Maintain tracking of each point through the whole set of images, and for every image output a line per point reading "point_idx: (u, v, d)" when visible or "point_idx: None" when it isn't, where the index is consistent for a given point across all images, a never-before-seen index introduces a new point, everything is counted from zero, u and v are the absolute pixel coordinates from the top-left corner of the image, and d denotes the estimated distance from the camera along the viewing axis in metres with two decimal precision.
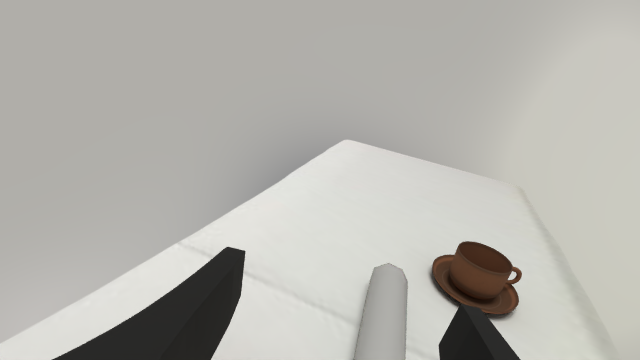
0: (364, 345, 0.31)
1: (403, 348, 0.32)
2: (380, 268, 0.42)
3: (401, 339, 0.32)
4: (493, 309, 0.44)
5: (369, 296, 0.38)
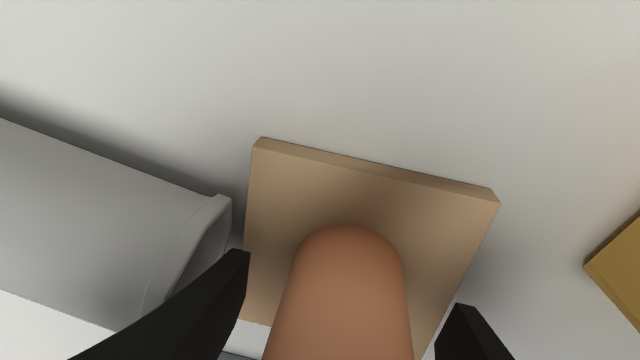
0: None
1: None
2: None
3: None
4: None
5: None
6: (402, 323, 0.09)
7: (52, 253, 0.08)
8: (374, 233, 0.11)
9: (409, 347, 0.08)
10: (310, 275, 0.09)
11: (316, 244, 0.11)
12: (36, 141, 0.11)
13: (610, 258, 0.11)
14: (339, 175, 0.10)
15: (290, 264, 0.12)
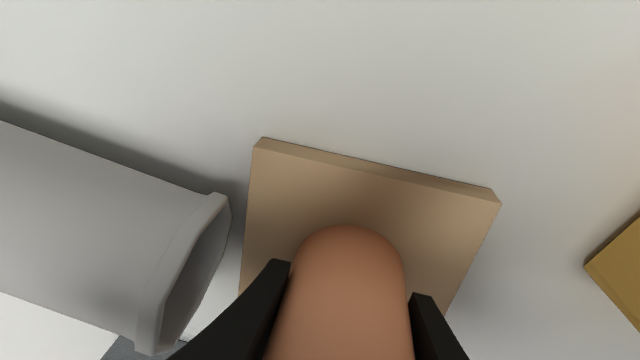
0: None
1: None
2: None
3: None
4: None
5: None
6: (403, 323, 0.09)
7: (46, 263, 0.08)
8: (375, 233, 0.11)
9: (410, 347, 0.08)
10: (311, 275, 0.09)
11: (317, 244, 0.11)
12: (26, 142, 0.10)
13: (610, 258, 0.11)
14: (340, 175, 0.10)
15: (291, 264, 0.12)
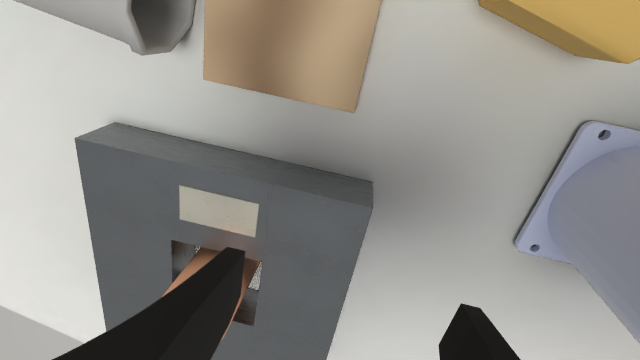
0: None
1: None
2: None
3: None
4: None
5: None
6: None
7: None
8: None
9: None
10: (200, 252, 0.20)
11: None
12: None
13: None
14: None
15: (244, 9, 0.15)
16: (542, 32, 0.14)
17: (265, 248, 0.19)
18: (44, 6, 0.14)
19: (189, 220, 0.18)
